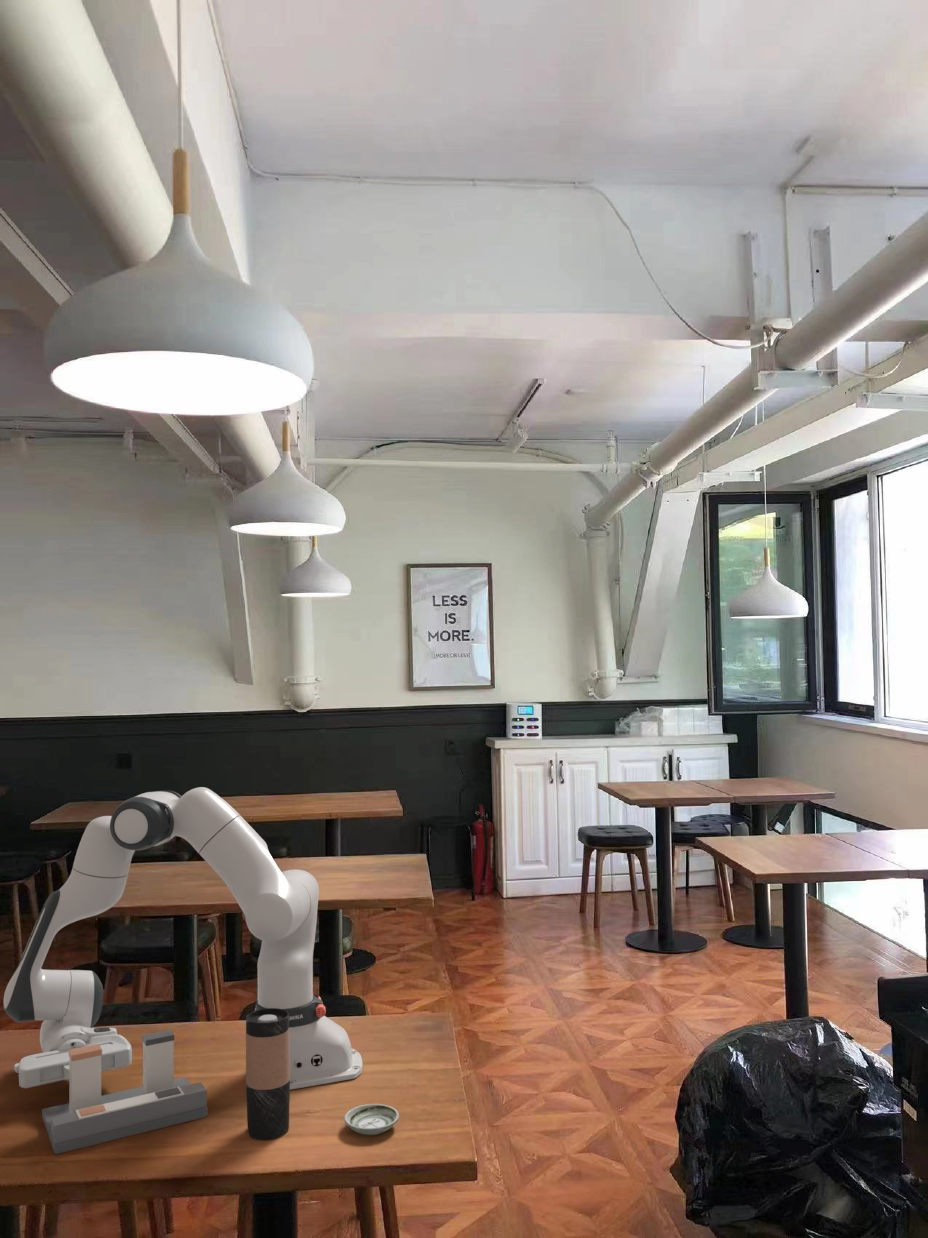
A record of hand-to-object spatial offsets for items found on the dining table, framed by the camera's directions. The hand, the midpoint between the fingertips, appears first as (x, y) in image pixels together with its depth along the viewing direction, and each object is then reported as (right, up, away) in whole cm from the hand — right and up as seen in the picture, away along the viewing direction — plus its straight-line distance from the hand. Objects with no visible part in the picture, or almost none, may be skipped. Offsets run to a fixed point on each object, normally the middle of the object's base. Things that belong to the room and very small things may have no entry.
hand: (82, 1077), depth 182 cm
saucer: (+55, -6, -8) cm, 55 cm away
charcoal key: (+13, -5, +3) cm, 14 cm away
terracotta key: (+2, -4, -4) cm, 6 cm away
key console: (+9, -6, -2) cm, 11 cm away
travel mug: (+36, -6, -9) cm, 38 cm away
